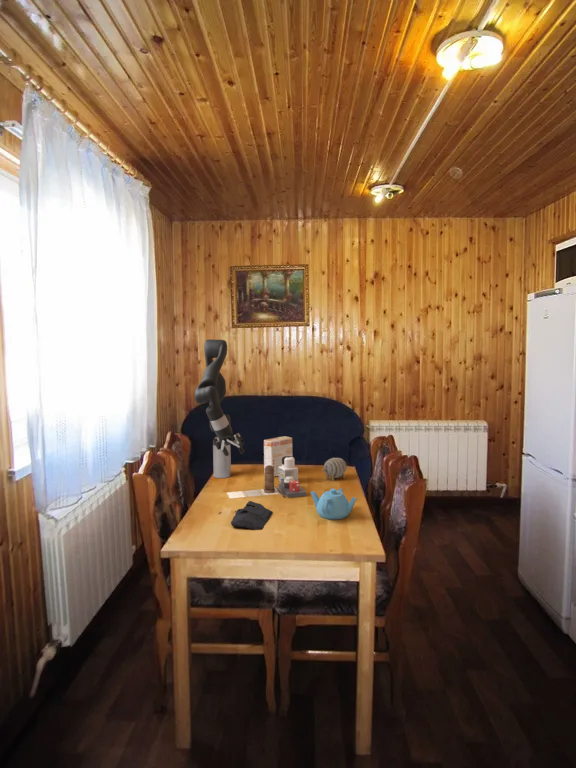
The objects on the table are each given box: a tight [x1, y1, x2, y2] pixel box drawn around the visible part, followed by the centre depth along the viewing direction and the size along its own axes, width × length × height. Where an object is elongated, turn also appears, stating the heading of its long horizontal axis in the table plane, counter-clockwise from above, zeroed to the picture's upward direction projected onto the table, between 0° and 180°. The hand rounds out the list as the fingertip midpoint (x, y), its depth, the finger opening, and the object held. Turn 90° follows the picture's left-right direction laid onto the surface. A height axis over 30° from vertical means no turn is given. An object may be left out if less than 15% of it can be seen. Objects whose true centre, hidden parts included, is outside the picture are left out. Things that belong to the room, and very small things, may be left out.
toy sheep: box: [321, 457, 348, 482], centre depth 253 cm, size 11×17×11 cm, turn 134°
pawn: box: [264, 465, 276, 493], centre depth 228 cm, size 5×5×13 cm
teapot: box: [310, 488, 357, 520], centre depth 201 cm, size 15×15×11 cm
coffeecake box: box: [263, 435, 293, 478], centre depth 263 cm, size 15×7×20 cm, turn 130°
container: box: [278, 455, 299, 483], centre depth 248 cm, size 8×8×13 cm
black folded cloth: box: [230, 500, 273, 530], centre depth 196 cm, size 15×22×5 cm
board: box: [226, 485, 285, 499], centre depth 226 cm, size 16×26×1 cm, turn 106°
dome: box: [284, 476, 295, 483], centre depth 235 cm, size 6×6×4 cm
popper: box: [278, 478, 307, 498], centre depth 231 cm, size 16×9×6 cm, turn 16°
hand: (234, 454), depth 230 cm, fingers open, 8 cm apart
